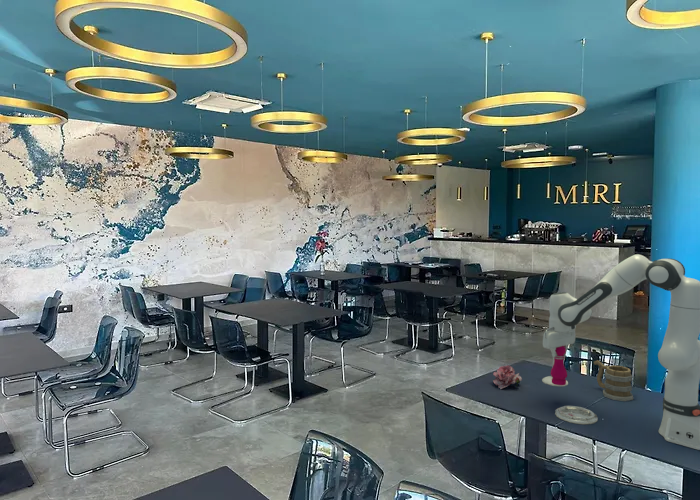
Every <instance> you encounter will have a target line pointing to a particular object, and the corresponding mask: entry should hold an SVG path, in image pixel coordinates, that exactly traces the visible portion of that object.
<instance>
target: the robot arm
mask: <svg viewBox="0 0 700 500" xmlns="http://www.w3.org/2000/svg"><path fill="white" fill-rule="evenodd" d="M645 280H647V281H648V283H650V284H651V285H652V286H655V287H657V288H660V289H662V290H664V291H667V292H670V302H669V303H670V305H669V314H668V315H669V316H668V323H667V327H666V330H665V334H664V337H663V341H662V345H661V348H660V349H659V351H658V353H657V357H658V362H659V363H660V365H661V366H662V367H663V368H665V369H666V370H668V371H667V374H666V377H665V379H664V397H663V398H662V400H663V401H662V412H663V413H662V419H661V423H660V425H659V429H658V433H659V434H660V435H661V436H662V437H663V438H664V440H665V441H666V442H669V443H672V444H677V445H680V446H684V447H686V448H690V449H695V450H697V451H700V404H699V386H700V340H699V336H700V280H698V279H695V278H694V277H693V278H691V277H687V276H686V268H685V266H684V265H683V263H681V261H679V260H678V259H675V258H661V259H660V258H659V259H656V260H653V261H651V260H650V259H649V258H647V256H644V255H642V254H638V253H637V254H633V255H631V256H629V257H628V258H625V259H624V260H622V261H620V262H619V263H618V264H617V265H615V266H614V267H613V268H611V270H609V272H607V273H606V274H605V275H604V276H603V277H602V278H601V279H600V280H599V281H597V283H596V284H595V285H594V286H593V287H592V288H590V289H588V291H587V292H585V293H584V294H582V295H581V296H579V297H578V298H576V297H574V296H573V295H571V294H570V293H569V292H567V291H562V292H561V291H560V292H554V293H552V294H551V295H550V297H549V303H548V304H549V306H548V311H549V318H548V328H546V330H545V331H544V333H543V337H542V348H544V349H546V350H550V352H551V356H552V358H553V357H556V356H557V353H556V351H555V350H556V348H557V347H561V346H564V347H565V349H566V351H567V350H568V346H569V345H573V344H575V343H576V338H577V337H576V336H577V335H576V328H577V325H578V324H580V323H583V322H586V321H587V320H589V319H590V318H591V317H592V315H593V307H595V306H596V305H598V304H599V303H601V302H604V301H606V300H607V299H610V298H613V297H616V296H620V295H623V294H625V293H627V292H629V291H630V290H632V289H633V288H634V287H636V286H638V285H639V284H640V283H642V282H643V281H645ZM566 354H567V352H566V353H565V354H564V355H566Z"/></svg>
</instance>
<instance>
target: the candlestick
mask: <svg viewBox="0 0 700 500" xmlns="http://www.w3.org/2000/svg"><path fill="white" fill-rule="evenodd" d="M553 365H554V358H553V357H552V367H553ZM552 367H551V368H552ZM552 378H553V377H552V376H551V375H548V376H545V377H543V378H542V379H541V382H542V383H543V384H545V385H549V386H552V387H566V386H568V385H569V381H568V380H567V379H565V380H566V384H565V385H555V384H553V383H552Z"/></svg>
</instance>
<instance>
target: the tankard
mask: <svg viewBox="0 0 700 500" xmlns="http://www.w3.org/2000/svg"><path fill="white" fill-rule="evenodd" d="M593 364H594V365H595V366H598V372H597V376H596V381H597V382H596V383H597V384H598V386H599V387H600V388H602V395H603V396H604V397H605V398H608V399H610V400H612V401H620V402H629V401H633V400H634V396H633V393H632V390H633V386H632V381H633V375H632V371H631V369H630V368H628V367H625V366H623V365H616V364H615V365H605V364H604V363H602V361H600V360H598V359H597V360H595V361H593ZM604 370H605V371H604ZM603 375H604V376H605V380H604V383H603V379H602V377H603Z"/></svg>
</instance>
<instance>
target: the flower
mask: <svg viewBox="0 0 700 500" xmlns="http://www.w3.org/2000/svg"><path fill="white" fill-rule="evenodd" d="M515 373H516V370H515V368H513V366H511V365H510V364H509V365H508V364H507V365H502V366H499V368H498V369H496V371H493V376H494V377H495V378H494V379H492V381H493V384H495V386H498V389H499V388H500V390H502V389H504V388H506V387H509V386H510V385H514V384H515V383H516V385H515V388H517V387H518V385H519V383H521V381H523V378H522V376H521V375H520V372H519V373H516V374H515Z"/></svg>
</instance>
